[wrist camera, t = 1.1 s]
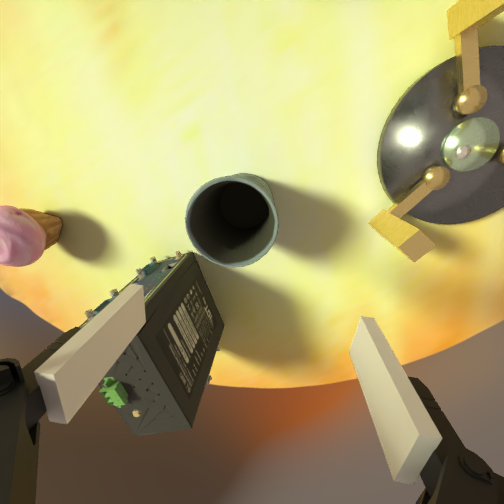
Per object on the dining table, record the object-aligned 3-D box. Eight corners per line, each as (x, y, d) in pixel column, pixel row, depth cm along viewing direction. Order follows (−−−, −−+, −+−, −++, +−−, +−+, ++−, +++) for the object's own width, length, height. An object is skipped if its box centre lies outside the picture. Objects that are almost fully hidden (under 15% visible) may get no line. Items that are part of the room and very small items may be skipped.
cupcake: (68, 257, 45) (13, 285, 35) (21, 234, 44) (-48, 256, 35) (79, 214, 41) (21, 232, 32) (28, 188, 41) (-46, 199, 31)
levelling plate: (414, 36, 29) (426, 26, 27) (590, 68, 29) (618, 61, 26) (356, 206, 37) (361, 209, 34) (494, 234, 36) (509, 239, 34)
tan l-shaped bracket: (480, 109, 29) (568, 90, 20) (453, 118, 30) (528, 104, 21) (475, -1, 26) (578, -82, 17) (445, 12, 27) (530, -60, 18)
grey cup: (280, 169, 36) (281, 177, 25) (276, 237, 39) (276, 271, 28) (210, 168, 37) (180, 175, 26) (213, 234, 40) (188, 266, 29)
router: (189, 243, 41) (117, 317, 23) (227, 331, 47) (194, 447, 29) (147, 255, 43) (47, 334, 24) (189, 339, 49) (134, 454, 30)
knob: (435, 161, 32) (496, 164, 23) (448, 176, 32) (514, 185, 23) (367, 222, 35) (397, 246, 26) (380, 235, 36) (414, 263, 27)
